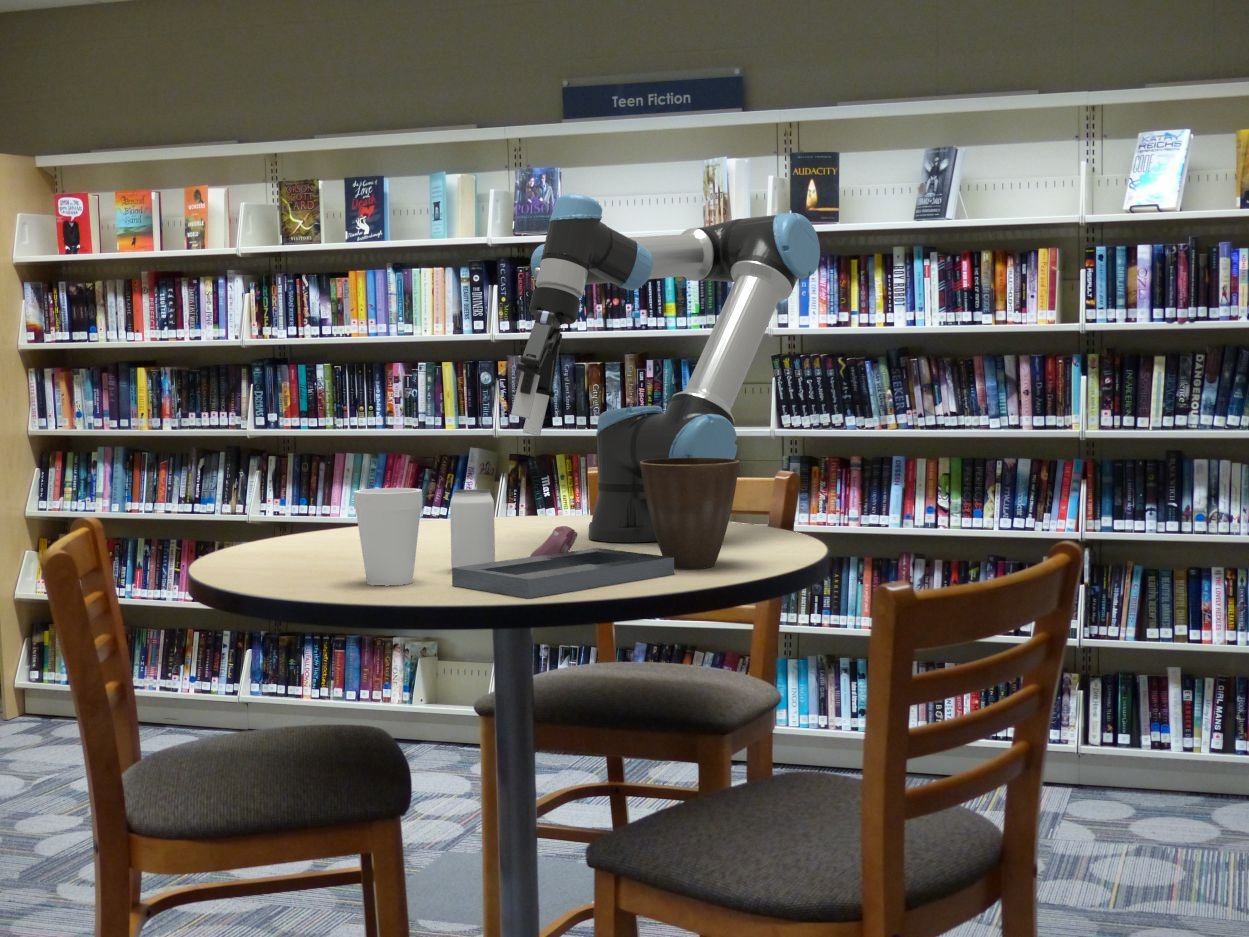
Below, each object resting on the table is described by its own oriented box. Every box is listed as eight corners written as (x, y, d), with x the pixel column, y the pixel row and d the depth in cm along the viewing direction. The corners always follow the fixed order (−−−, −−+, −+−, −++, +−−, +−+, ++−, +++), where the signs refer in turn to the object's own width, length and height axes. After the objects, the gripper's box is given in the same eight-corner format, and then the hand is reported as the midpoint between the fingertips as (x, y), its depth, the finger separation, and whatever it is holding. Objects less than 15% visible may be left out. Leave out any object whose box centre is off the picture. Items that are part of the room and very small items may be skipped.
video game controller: (551, 577, 200) (571, 537, 199) (525, 563, 201) (544, 523, 200) (567, 568, 210) (586, 529, 209) (542, 555, 210) (560, 516, 209)
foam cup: (358, 589, 180) (356, 494, 180) (353, 579, 189) (351, 489, 188) (428, 585, 183) (426, 492, 182) (419, 576, 192) (417, 487, 191)
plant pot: (735, 573, 191) (734, 463, 190) (633, 572, 194) (632, 463, 193) (743, 559, 206) (742, 457, 205) (648, 558, 209) (647, 457, 207)
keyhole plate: (597, 564, 203) (596, 547, 202) (674, 574, 191) (674, 557, 191) (452, 585, 183) (451, 567, 183) (528, 598, 172) (528, 579, 171)
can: (500, 572, 195) (499, 491, 194) (457, 575, 193) (456, 493, 192) (488, 566, 201) (487, 488, 200) (446, 569, 199) (445, 489, 198)
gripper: (543, 311, 216) (512, 435, 213) (524, 262, 192) (489, 402, 188) (587, 320, 216) (558, 445, 212) (574, 272, 191) (540, 413, 188)
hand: (525, 425), depth 200 cm, fingers open, 13 cm apart
